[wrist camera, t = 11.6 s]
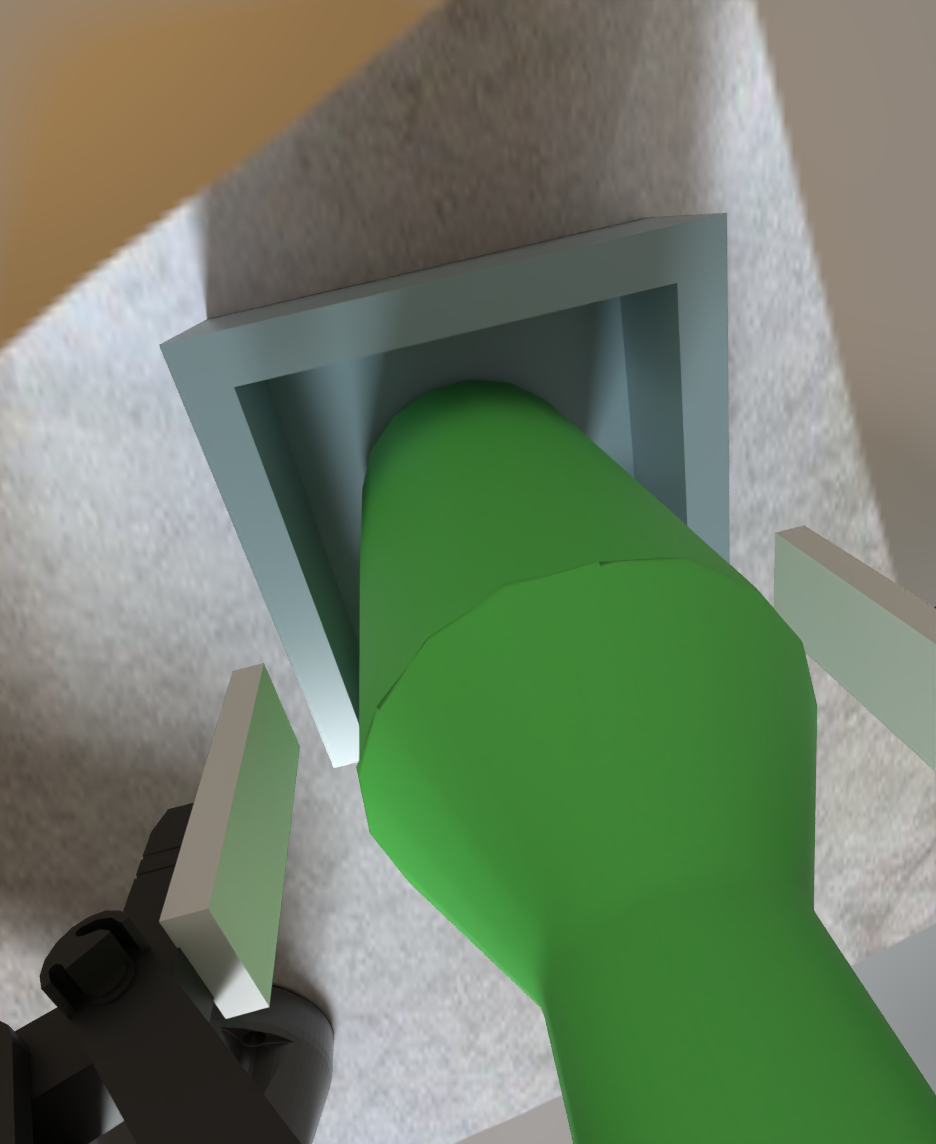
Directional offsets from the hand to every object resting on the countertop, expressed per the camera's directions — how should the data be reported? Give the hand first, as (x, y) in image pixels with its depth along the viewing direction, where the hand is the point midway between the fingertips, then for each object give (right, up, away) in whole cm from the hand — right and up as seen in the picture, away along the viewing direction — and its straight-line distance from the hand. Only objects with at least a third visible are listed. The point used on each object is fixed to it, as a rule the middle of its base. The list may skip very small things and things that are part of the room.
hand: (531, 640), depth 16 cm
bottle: (-1, +5, +10) cm, 11 cm away
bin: (-1, +6, +10) cm, 12 cm away
